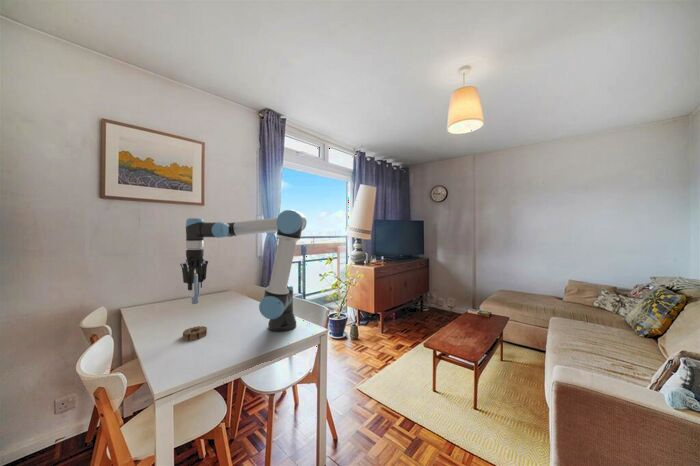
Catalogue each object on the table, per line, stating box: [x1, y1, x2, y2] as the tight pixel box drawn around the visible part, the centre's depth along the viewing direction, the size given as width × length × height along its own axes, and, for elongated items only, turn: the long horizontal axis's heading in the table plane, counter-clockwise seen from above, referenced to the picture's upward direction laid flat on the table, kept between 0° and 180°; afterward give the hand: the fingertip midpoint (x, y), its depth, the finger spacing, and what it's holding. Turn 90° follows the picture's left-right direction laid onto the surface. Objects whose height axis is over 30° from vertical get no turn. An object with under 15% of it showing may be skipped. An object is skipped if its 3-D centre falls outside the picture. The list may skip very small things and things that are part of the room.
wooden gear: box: [182, 325, 208, 341], centre depth 125 cm, size 10×10×3 cm
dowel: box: [191, 272, 199, 305], centre depth 125 cm, size 3×3×15 cm
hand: (195, 295), depth 125 cm, fingers closed on dowel, 3 cm apart
